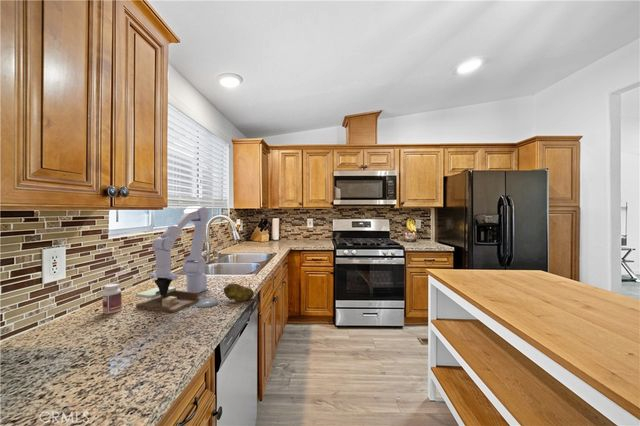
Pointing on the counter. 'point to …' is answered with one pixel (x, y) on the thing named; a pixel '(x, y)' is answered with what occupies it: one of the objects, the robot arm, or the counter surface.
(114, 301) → the pill bottle
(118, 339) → the counter surface
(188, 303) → the board
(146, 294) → the cover
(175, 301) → the block
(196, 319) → the counter surface
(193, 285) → the robot arm
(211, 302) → the saucer
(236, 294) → the potato
